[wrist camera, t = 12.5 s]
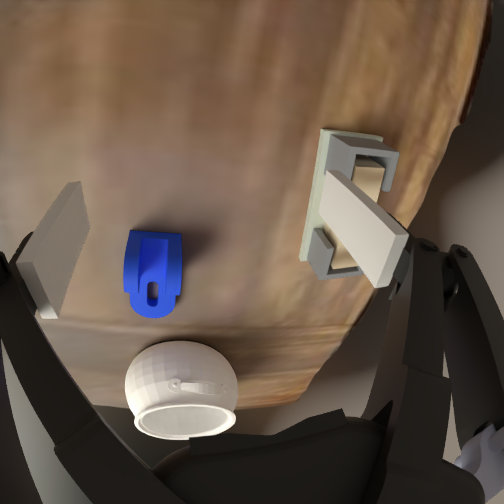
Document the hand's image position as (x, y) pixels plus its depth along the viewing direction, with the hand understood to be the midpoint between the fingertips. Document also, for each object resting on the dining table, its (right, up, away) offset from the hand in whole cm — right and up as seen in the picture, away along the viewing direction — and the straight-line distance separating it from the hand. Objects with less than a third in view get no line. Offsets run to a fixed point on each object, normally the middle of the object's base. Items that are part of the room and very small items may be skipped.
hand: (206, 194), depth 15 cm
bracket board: (+17, +6, +34) cm, 39 cm away
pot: (-16, -31, +53) cm, 63 cm away
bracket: (-15, -7, +36) cm, 39 cm away
